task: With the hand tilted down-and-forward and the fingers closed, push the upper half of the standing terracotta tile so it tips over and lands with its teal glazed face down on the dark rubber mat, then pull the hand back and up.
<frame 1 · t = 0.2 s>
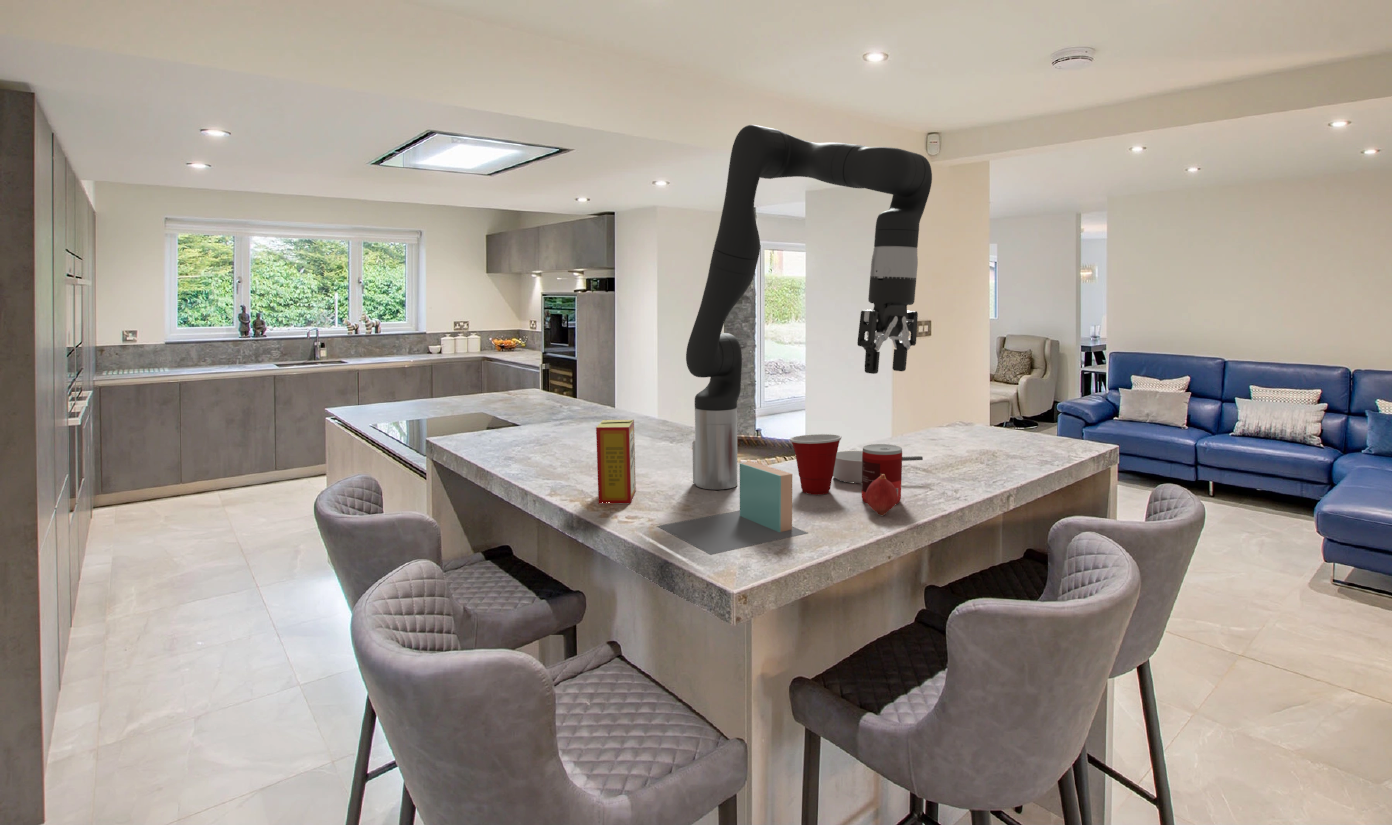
hand: (885, 372, 128), 28 cm above the countertop, tool pointing down, fingers open, 8 cm apart
plastic cup: (814, 492, 159), on the countertop
saucepan: (875, 480, 168), on the countertop
canned food: (880, 502, 150), on the countertop
baking soda box: (617, 498, 156), on the countertop
mat: (731, 532, 132), on the countertop
tile: (758, 523, 135), resting on mat
onion: (880, 516, 141), on the countertop
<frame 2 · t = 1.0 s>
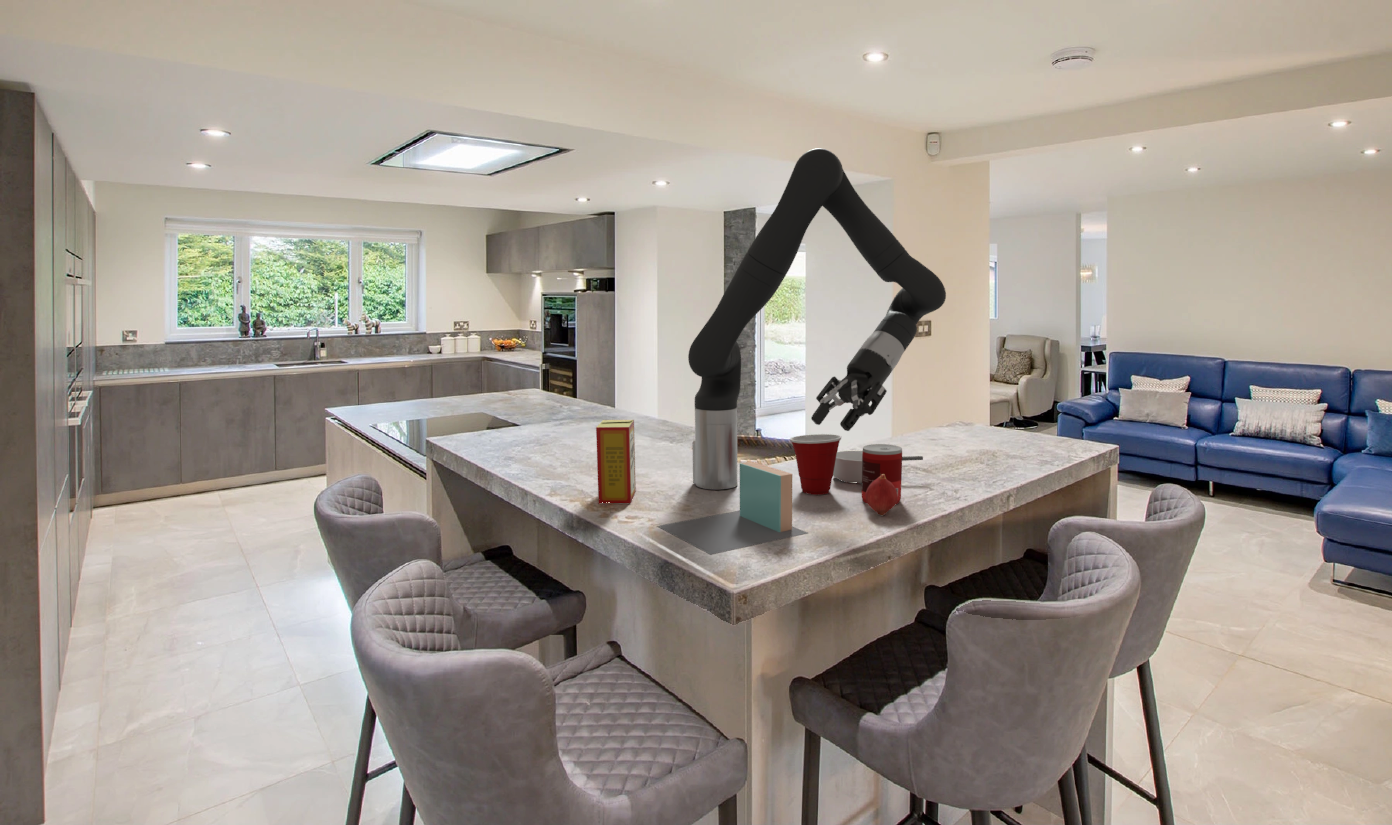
hand: (829, 425, 140), 17 cm above the countertop, tool tilted 45°, fingers open, 8 cm apart
nothing on the countertop moved.
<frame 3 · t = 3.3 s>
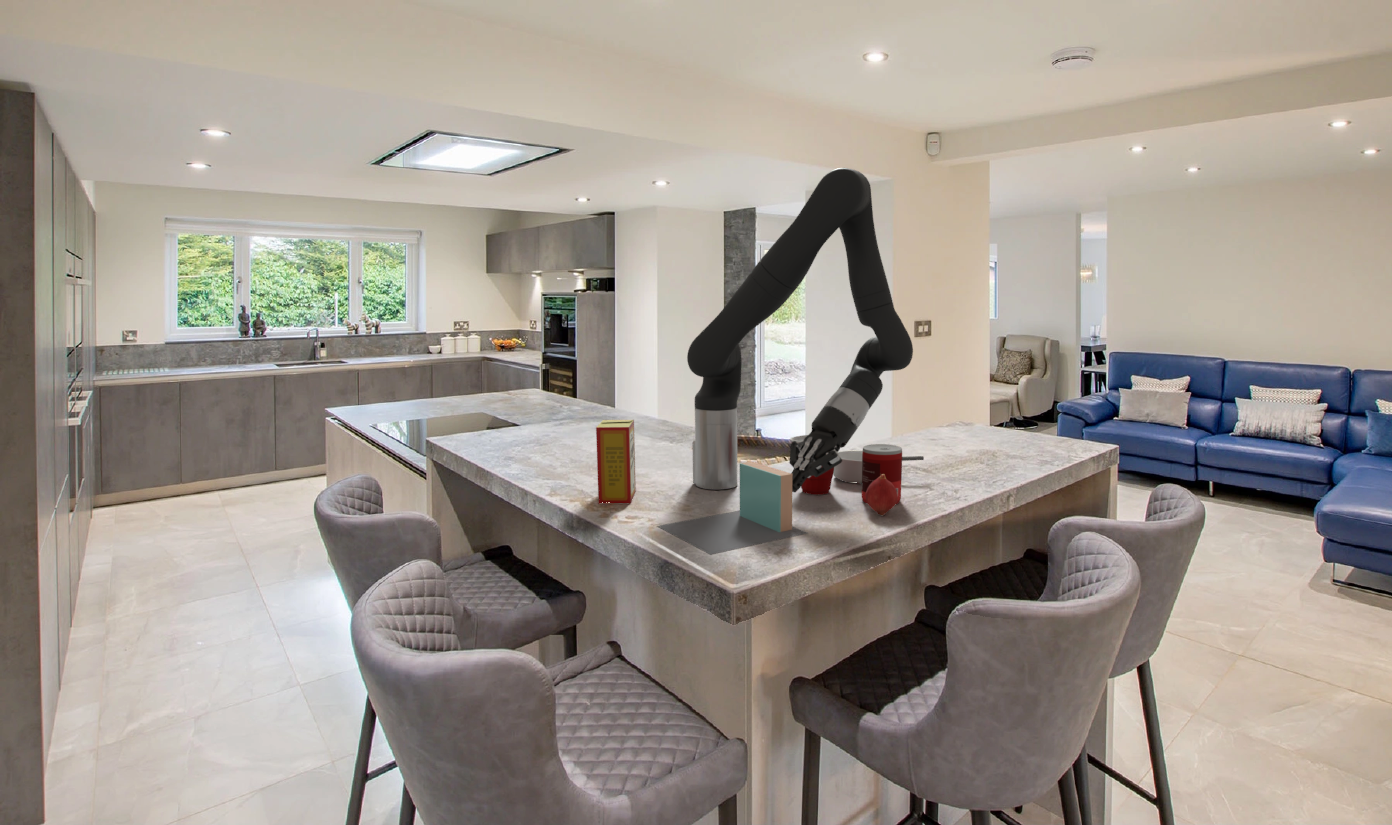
hand: (789, 489, 137), 6 cm above the countertop, tool tilted 45°, fingers closed
nothing on the countertop moved.
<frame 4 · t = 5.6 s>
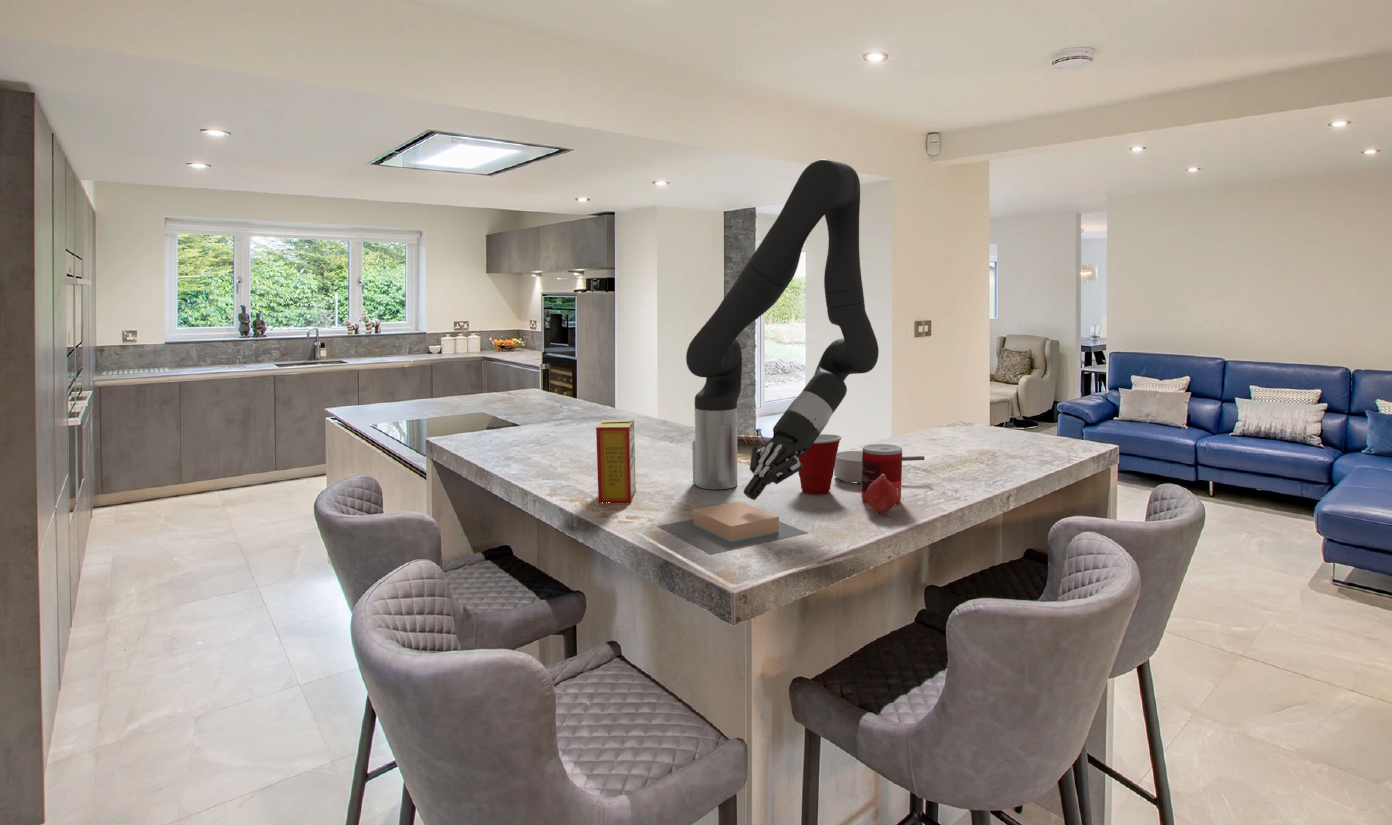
hand: (748, 496, 133), 6 cm above the countertop, tool tilted 45°, fingers closed
tile: (758, 523, 135), resting on mat, tilted 90°
everything else where it was.
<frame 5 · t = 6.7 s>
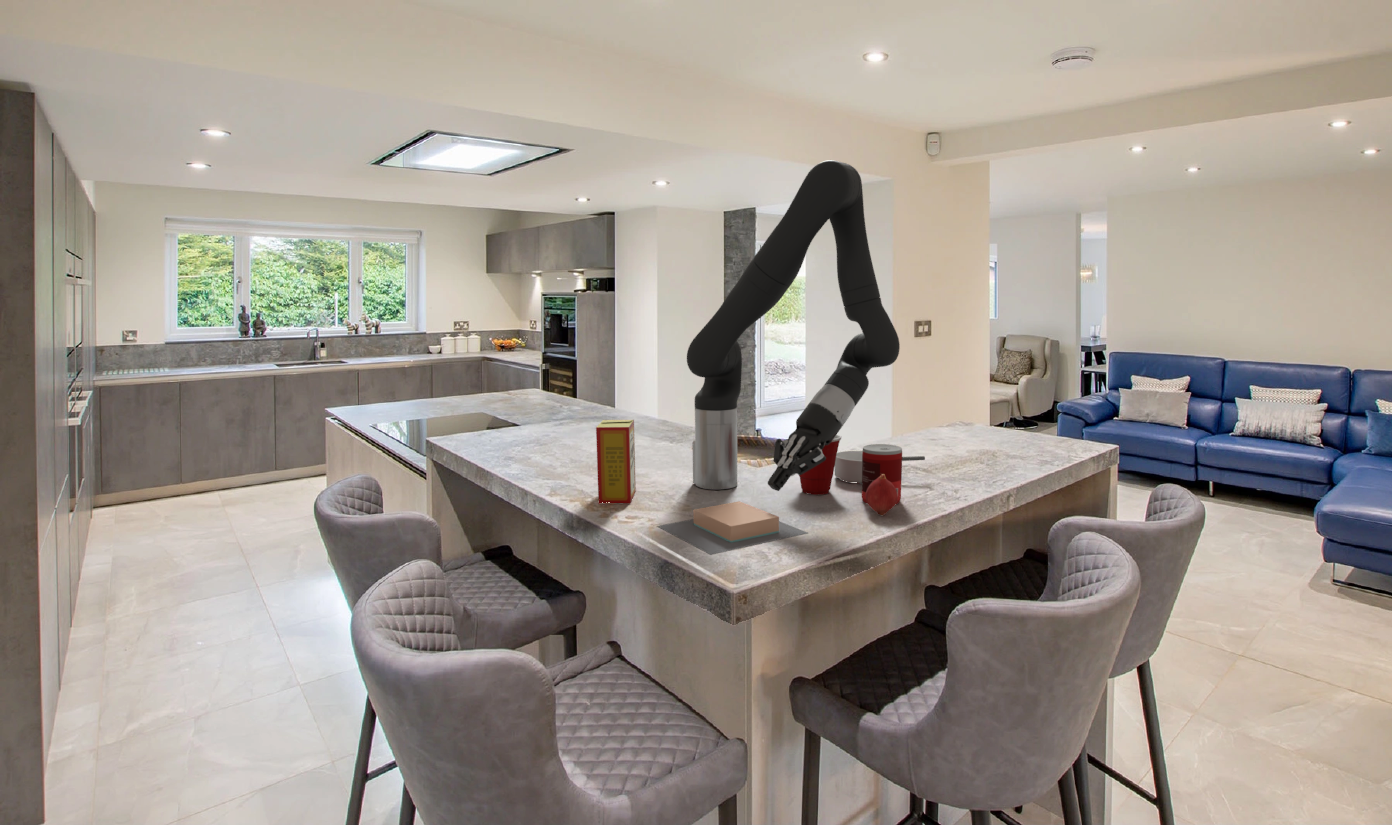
hand: (772, 487, 135), 7 cm above the countertop, tool tilted 45°, fingers closed
nothing on the countertop moved.
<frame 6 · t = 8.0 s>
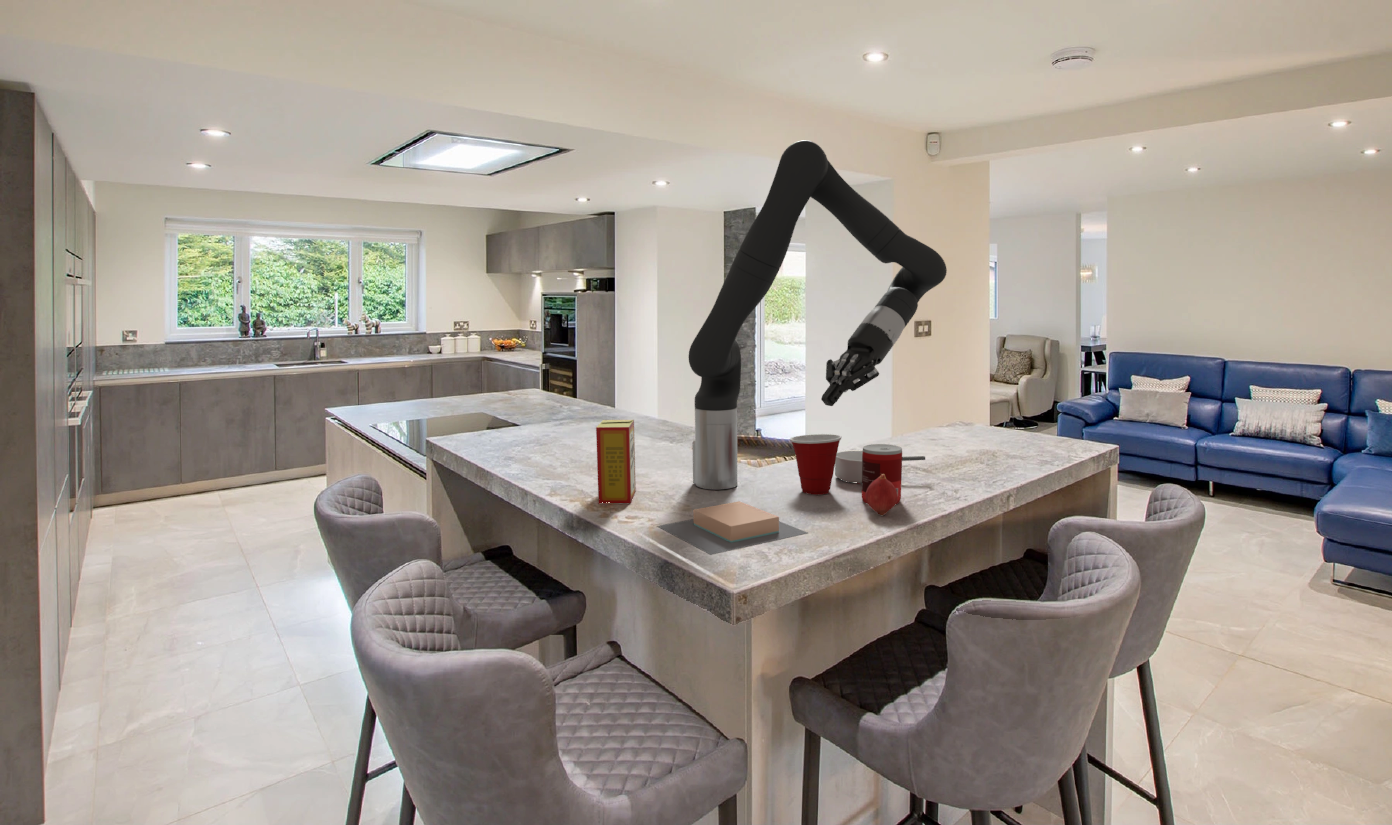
hand: (826, 402, 140), 21 cm above the countertop, tool tilted 45°, fingers closed
nothing on the countertop moved.
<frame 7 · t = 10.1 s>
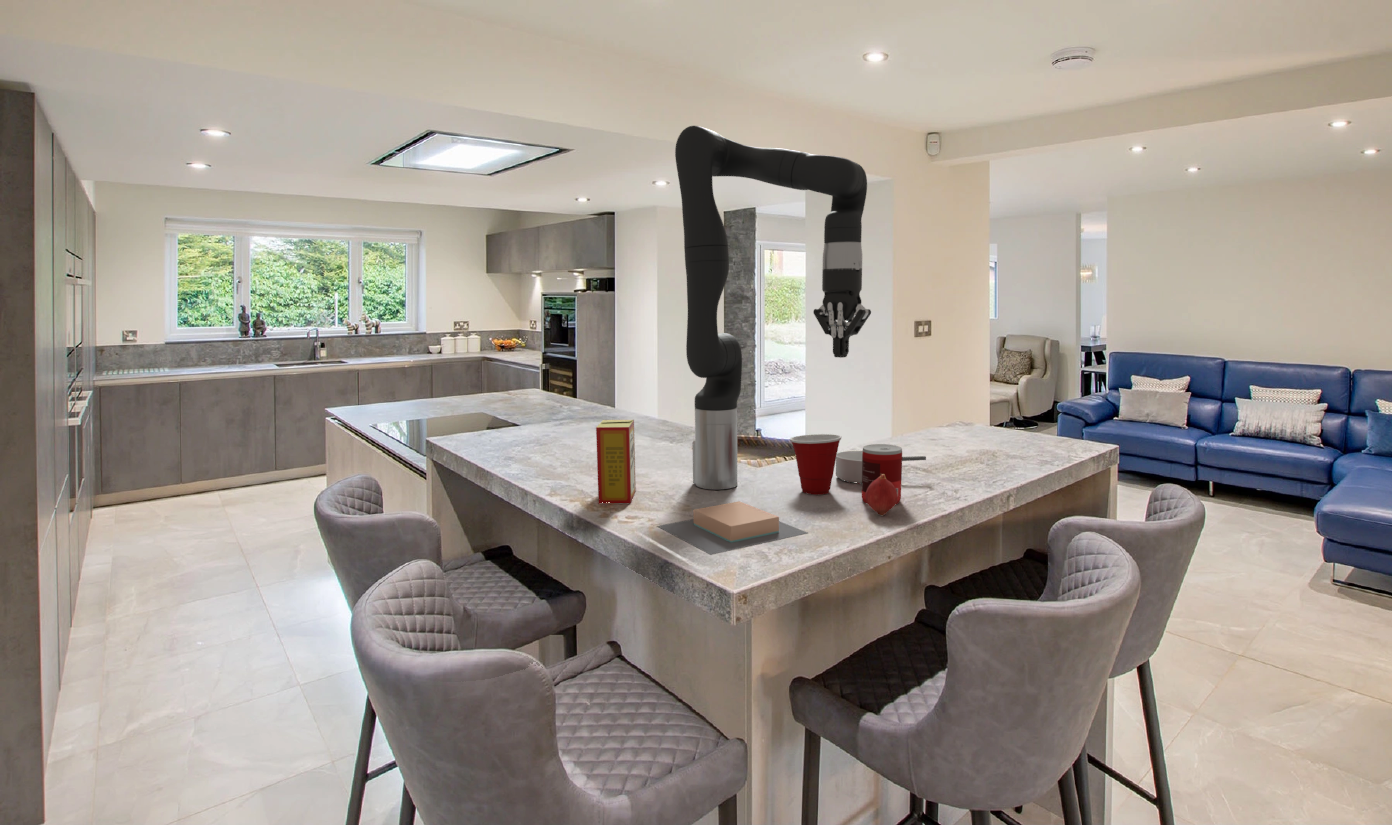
hand: (840, 357, 147), 29 cm above the countertop, tool pointing down, fingers closed
nothing on the countertop moved.
at the end: tile tilted 90°; tile point 0.5 cm above the countertop; tile inside the target area on the mat (6.8 cm from its centre), point 0.5 cm above the mat's base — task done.
